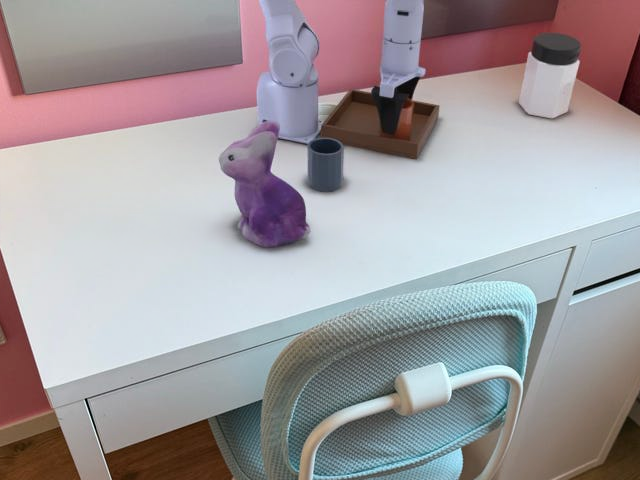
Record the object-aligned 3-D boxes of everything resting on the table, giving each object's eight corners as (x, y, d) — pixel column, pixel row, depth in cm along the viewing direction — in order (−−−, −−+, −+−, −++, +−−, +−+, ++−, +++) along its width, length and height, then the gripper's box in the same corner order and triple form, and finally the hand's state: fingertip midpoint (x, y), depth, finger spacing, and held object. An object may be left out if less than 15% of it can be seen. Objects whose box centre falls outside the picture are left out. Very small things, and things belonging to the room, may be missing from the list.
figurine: (222, 218, 101) (211, 115, 90) (293, 207, 104) (291, 106, 93) (239, 257, 94) (229, 151, 84) (314, 244, 98) (313, 140, 87)
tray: (321, 140, 119) (321, 125, 117) (349, 102, 129) (350, 88, 128) (416, 159, 116) (418, 144, 114) (438, 119, 127) (439, 105, 125)
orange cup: (375, 141, 118) (377, 106, 114) (384, 127, 122) (386, 92, 118) (405, 147, 118) (409, 112, 113) (413, 133, 121) (417, 98, 117)
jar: (546, 123, 129) (561, 54, 120) (510, 106, 132) (523, 39, 124) (575, 109, 133) (592, 42, 125) (539, 94, 137) (553, 28, 129)
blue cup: (302, 187, 108) (302, 150, 104) (315, 171, 111) (314, 134, 107) (335, 195, 107) (336, 157, 103) (347, 177, 111) (348, 141, 106)
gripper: (415, 59, 103) (407, 147, 112) (438, 25, 113) (429, 109, 123) (368, 50, 104) (363, 138, 113) (395, 18, 114) (389, 101, 124)
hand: (394, 122), depth 118 cm, fingers open, 7 cm apart
